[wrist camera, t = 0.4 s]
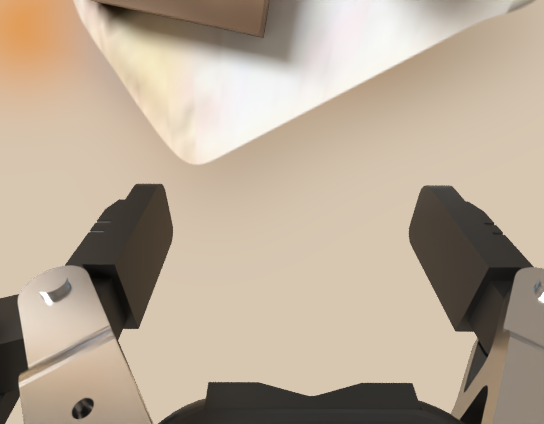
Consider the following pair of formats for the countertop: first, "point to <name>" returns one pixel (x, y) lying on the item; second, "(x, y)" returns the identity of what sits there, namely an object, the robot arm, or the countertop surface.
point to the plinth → (206, 12)
